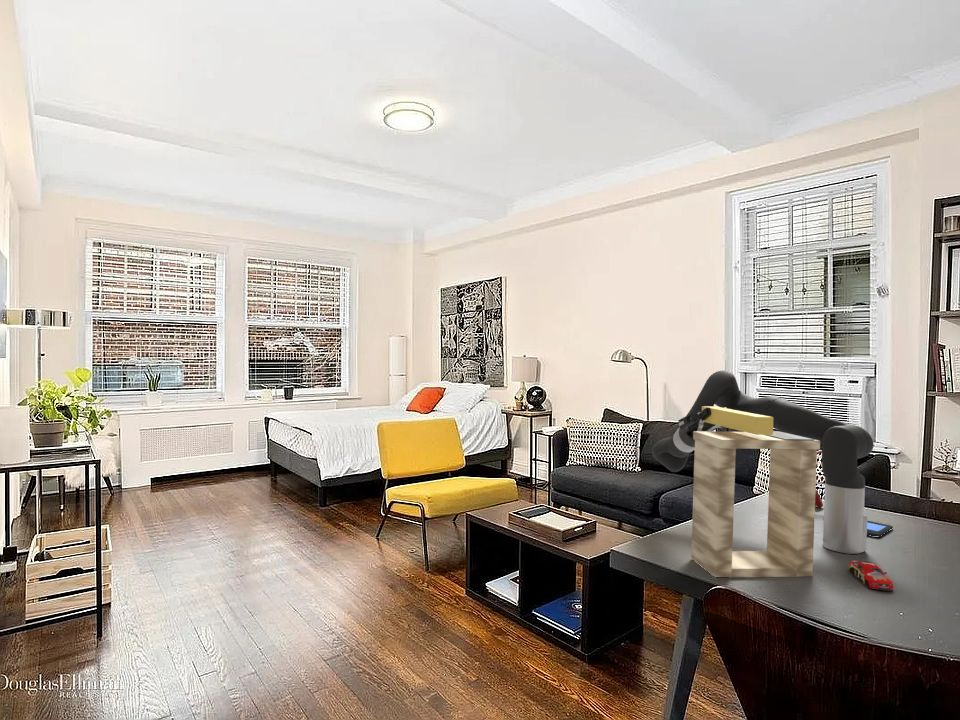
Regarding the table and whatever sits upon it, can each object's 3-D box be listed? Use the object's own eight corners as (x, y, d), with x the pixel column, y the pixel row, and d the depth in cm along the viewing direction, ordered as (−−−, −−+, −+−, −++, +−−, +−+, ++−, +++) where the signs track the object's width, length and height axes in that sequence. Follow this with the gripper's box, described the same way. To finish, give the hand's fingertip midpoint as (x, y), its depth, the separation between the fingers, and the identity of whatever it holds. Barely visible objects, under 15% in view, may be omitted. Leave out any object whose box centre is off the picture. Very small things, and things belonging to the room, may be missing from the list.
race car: (897, 595, 131) (898, 577, 131) (869, 592, 132) (870, 574, 132) (870, 573, 144) (871, 556, 144) (845, 571, 145) (846, 554, 145)
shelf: (778, 557, 153) (783, 431, 153) (815, 577, 139) (820, 439, 139) (689, 558, 151) (693, 430, 150) (717, 579, 137) (721, 438, 136)
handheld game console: (878, 540, 171) (880, 507, 171) (827, 528, 181) (828, 498, 181) (894, 530, 182) (895, 499, 181) (844, 520, 192) (845, 491, 191)
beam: (715, 421, 161) (715, 406, 161) (772, 434, 135) (773, 417, 135) (701, 421, 161) (701, 406, 161) (756, 434, 135) (756, 416, 135)
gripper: (664, 422, 172) (689, 396, 157) (711, 423, 173) (740, 397, 158) (669, 447, 168) (695, 423, 153) (717, 447, 170) (747, 423, 155)
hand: (718, 410), depth 156 cm, fingers closed on beam, 4 cm apart
